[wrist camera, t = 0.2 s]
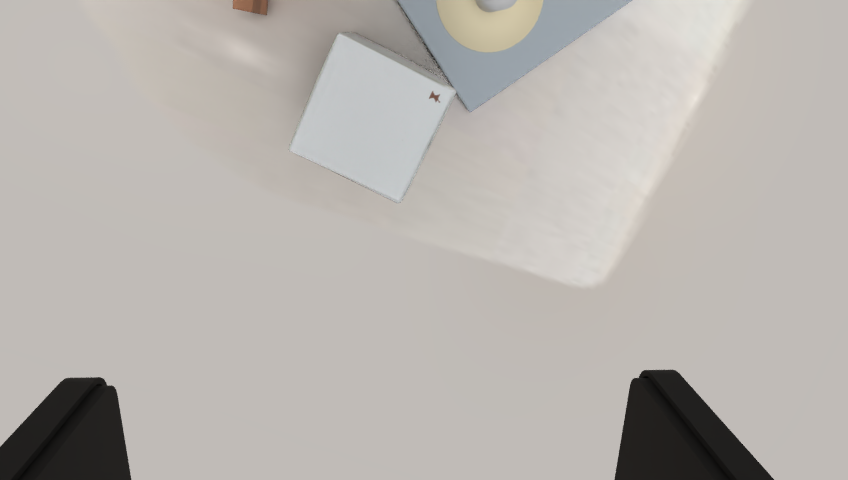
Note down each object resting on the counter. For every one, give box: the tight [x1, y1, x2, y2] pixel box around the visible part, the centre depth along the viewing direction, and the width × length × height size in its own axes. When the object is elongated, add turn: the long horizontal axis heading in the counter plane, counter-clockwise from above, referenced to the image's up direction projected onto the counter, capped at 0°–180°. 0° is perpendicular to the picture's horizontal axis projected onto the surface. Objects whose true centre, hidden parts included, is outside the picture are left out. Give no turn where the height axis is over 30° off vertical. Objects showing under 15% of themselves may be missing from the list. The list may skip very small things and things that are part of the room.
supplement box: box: [288, 32, 456, 203], centre depth 38 cm, size 7×7×13 cm
